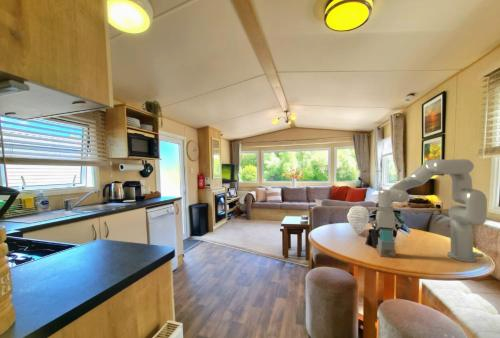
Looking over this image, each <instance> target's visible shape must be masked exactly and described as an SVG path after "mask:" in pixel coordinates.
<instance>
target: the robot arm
mask: <svg viewBox="0 0 500 338" xmlns="http://www.w3.org/2000/svg"><path fill="white" fill-rule="evenodd" d="M473 170H474V163H473V162H472V160H469V159H467V158H466V159H465V158H457V159H455V158H454V159H451V158H450V159H430V160H426V161H425V162H424V163H422V164H421V165H420V166H419V167H418V168H417V169H416V170H414V171H413V172H412V173H411V174H410V175H408V176H406V177H404V178H403V179H400V180H398V181H397V182H395V184H393V185H392V186H391V187H389V188H388V189H379V190H378V192H377V193H378V195H377V196H378V202H377V203H378V205H377V206H378V210H376V214H375V219H374V220H372V221H370V225H371V227H372V229H375V235H376V236H380V233H379V234H378V230H379V229H387V228H388V229H392V237H394V238H395V239H396V238H397V236H398V231H399V230H400V229H401V227H402V223H401V222H398V221H396V216H395V212H394V211H395V210H396V207H393V202H395V203H405V202H407V201H408V200H409V199H410V195H409V193H408V192H407V191H408V190H410V189H412V188H417V187H420V186H421V187H422V186H423V185H425V183H427V182H428V181H429V180H430V179H432V178H433V177H434V176H436V175H449V177H450V179H451V183H452V184H451V186H452V188H451V198H452V200H453V201H454V203H458V204H455V205H452V206H451V207H450V208H449V209H448V213H447V214H448V218H449V219H448V220H449V223H450V224H449V226H450V251H448V252H447V253H446V255H447V256H448V257H450V258H451V259H453V260H456V261H461V262H466V263H476V262H477V257H479V258H483V257H485V256H484V254H483V253H478V252H476V251H474V248H473V247H474V242H473V241H474V238H473V237H474V234H473V232H474V230H473V229H474V228H473V226H475V227H476V226H477V227H478V226H479V227H480V226H482V225H484V223H486V221H487V211H488V210H487V208H488V199H487V196H486V194H485V193H484V191H481V190H479V189H476V188H475V189H474V188H473V180H472V179H473V178H472V176H471V174H470V172H472V171H473ZM459 204H461V205H459ZM396 225H397V226H396Z"/></svg>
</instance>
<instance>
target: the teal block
mask: <svg viewBox="0 0 500 338" xmlns="http://www.w3.org/2000/svg"><path fill="white" fill-rule="evenodd" d="M379 229H380V230H379V236H380V238H381V239H382V240H383V241H392V240H393V238H392V237H393V230H392V231H391V230H390V228H388V229H387V228H379Z"/></svg>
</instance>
